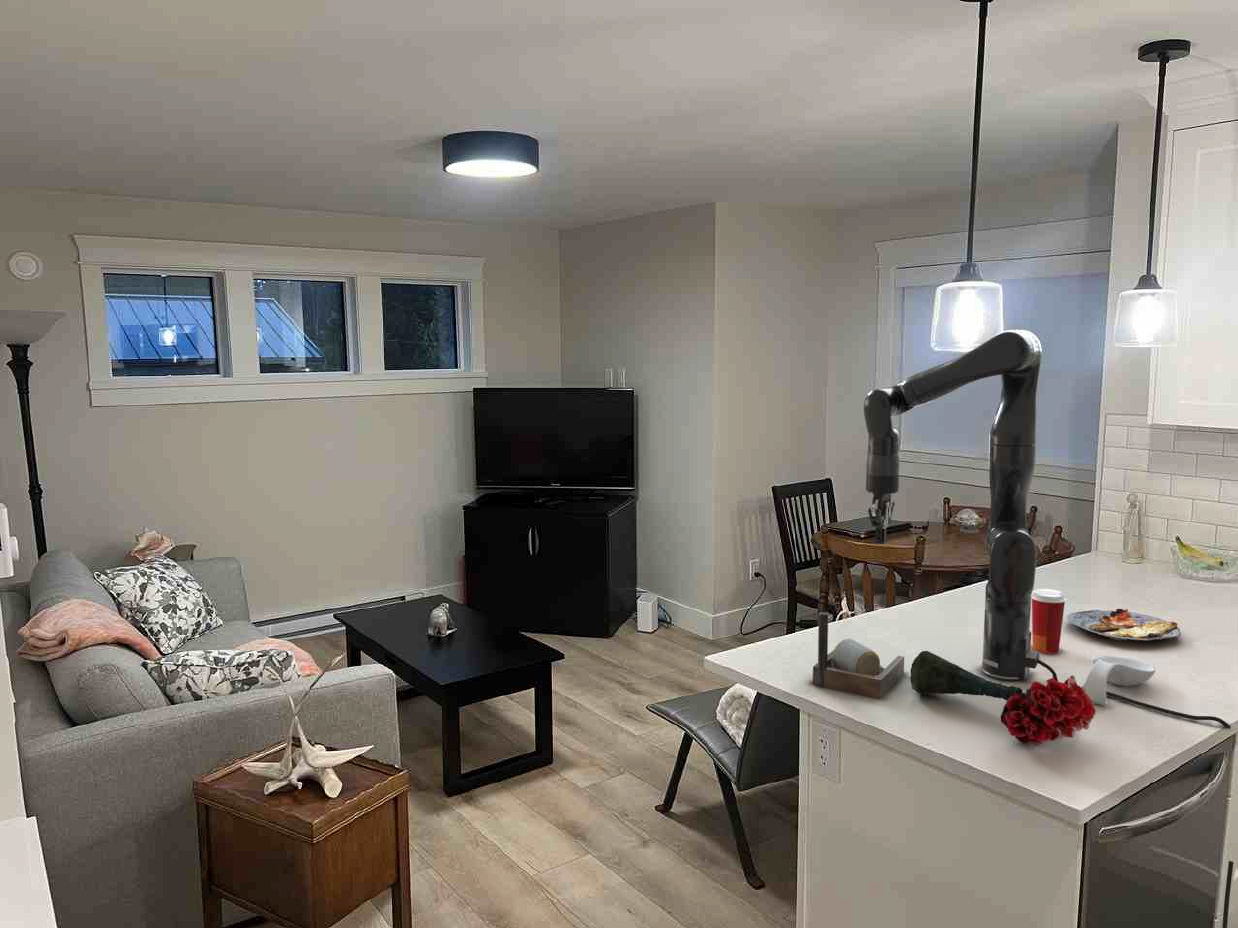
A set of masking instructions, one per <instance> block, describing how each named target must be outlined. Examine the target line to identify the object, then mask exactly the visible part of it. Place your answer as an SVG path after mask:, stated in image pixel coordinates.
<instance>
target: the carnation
mask: <svg viewBox="0 0 1238 928" xmlns="http://www.w3.org/2000/svg"><path fill="white" fill-rule="evenodd" d="M909 679H910V684H911V688H912V690H913V691H915V692H916V693H917V694H925V695H927V694H930V695H931V694H934V695H935V694H937V695H939V694H941V695H959V694H960V695H968V696H981V697H982V696H986V697H991V698H995V699H1002V700H1004V701H1006V702H1005V703H1004V704H1003V708H1002V711H1001V714H1000V717H999V718H1000V723H1001V724H1003V725H1004V726H1005V727H1006V729H1007V731H1008V733H1009V735H1010V736H1012V737H1014V738H1015V739H1016V740H1017V741H1018V742H1019V743H1021V744H1023V745H1025V744H1029V743H1032V744H1034V745H1039V744H1043V743H1046V742H1047V741H1052V742H1054V741H1055V740H1057V739H1059V738H1060V733H1061V734H1062V735H1063V736H1064V737H1066V738H1070V739H1073V738H1074V736H1073V734H1074V733H1076V732H1080V731H1082V730H1087V731H1088V730H1089V729H1090V724H1091V723H1092V720H1094V719H1095V716H1096V712H1097V711H1096V708H1095V706H1094V705H1093V704H1094V703H1093V701H1092V698H1091V696H1090V694H1089V693H1088V691H1087V688H1086V687H1085V686H1084V685H1083V686H1080V685H1078V683H1077V680H1076V677H1075V676H1074V675H1073V674H1072V675H1070V677H1068V678H1067V679H1065V680H1064V681H1063V682H1062V681H1061V682H1060V681H1059V682H1057V681H1056V680H1055V679H1054V677H1053V676H1052V677H1051V678H1048V679H1046V685H1045V684H1043V683H1041V682H1040V681H1032V683H1031V685H1030V687H1029V688H1027V689H1026V691H1025V692H1023V691H1024V690H1023V689H1022V688H1021V686H1020V687H1019V686H1014V685H1006V684H1002V683H1001V682H994V681H992V680H988V679H986V678H984V677H982V676H979V675H977V674H974V673H973V672H970V671H968V670H967V669H965V668H963V667H961V666H959V665H957V664H955V663H953V662H951V661H949V660H947V659H945V658H943V657H941V656H939V655H937V654H935V653H933V652H931V651H929V650H922V651H920V652H919V654H917V656H916V657H915V658H914V659H913V661H912V663H911V667H910V678H909Z"/></svg>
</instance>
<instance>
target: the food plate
mask: <svg viewBox="0 0 1238 928" xmlns="http://www.w3.org/2000/svg"><path fill="white" fill-rule="evenodd" d="M1065 619H1066V620H1067V621H1068V622H1069V623H1070V624H1071V625H1073V626H1076V627H1078V628H1080V629H1083V630H1085V631H1086V632H1091V633H1093V634H1096V635H1099V636H1102V637H1105V638H1110V639H1112V640H1116V641H1122V640H1124V641H1127V639H1128V640H1132V641H1152V640H1163V639H1164V640H1165V639H1169V638H1177V637H1181V635H1182V633H1181V629H1180V628H1179V627H1178V623H1177V622H1175V621H1166V620H1163V619H1161V618H1159V617H1154V616H1152V615H1148V614H1141V613H1135V612H1132V611H1129V609H1127V608H1125V609H1123V608H1116V610H1111V609H1110V610H1108V609H1107V610H1103V609H1102V610H1101V609H1094V610H1093V609H1092V610H1083V611H1082V610H1081V611H1075V612H1071V613H1069V614H1066V616H1065Z"/></svg>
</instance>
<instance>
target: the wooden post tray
mask: <svg viewBox="0 0 1238 928" xmlns="http://www.w3.org/2000/svg"><path fill="white" fill-rule="evenodd" d="M833 619H834V617H833V615H832V614H829V613H828V612H825V611H819V612H818V629H817V630H818V633H817V634H818V637H817V663H816V664H814V665H813V666H812V685H814V686H818V687H823V688H829V689H833V690H837V691H838V690H839V691H842V692H846V693H847V692H848V693H851V694H857V695H862V696H867V697H870V698H875V699H882V697H884V696H885V694H886V693H887V692H888V691H889V690H890V689H891V688H892V687H893V686H894V685H895V684H896V683H897V682H898V681H899V680H900V679H901V677H902V676H904V674H905V656H902V655H898V656H896V657H895V658H894V659H893V660H892V661H891V662H890V663H889V664H888V665H887V666H885V667H884V670H883V671H882V672H881V673H880V674H878V675H876V676H875V677H874V676H869V675H864V674H859V673H854V672H849V671H844V670H839V669H836V668H835V667H834V665H833V661H832V656H833V652H834V649H833V650H832V651H831V652H829V653H828V650H829V649H828V648H829V647H828V646H829V622H831V621H832V620H833Z"/></svg>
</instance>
